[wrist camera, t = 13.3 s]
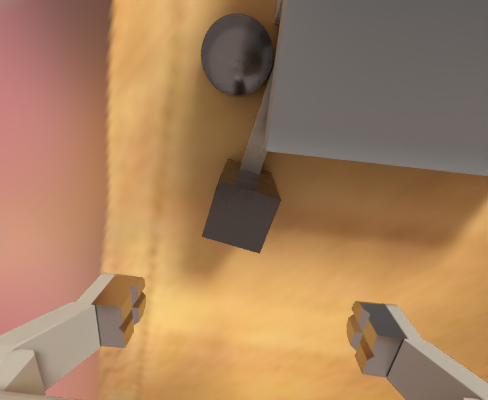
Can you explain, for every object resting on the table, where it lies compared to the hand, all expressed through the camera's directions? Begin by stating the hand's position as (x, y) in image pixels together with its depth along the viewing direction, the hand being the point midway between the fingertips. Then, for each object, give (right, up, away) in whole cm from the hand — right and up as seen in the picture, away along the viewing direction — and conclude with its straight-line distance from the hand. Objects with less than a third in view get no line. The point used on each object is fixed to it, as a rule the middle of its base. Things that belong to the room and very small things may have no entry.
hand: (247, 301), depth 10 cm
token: (-1, +15, +10) cm, 17 cm away
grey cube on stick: (+1, +9, +11) cm, 15 cm away
